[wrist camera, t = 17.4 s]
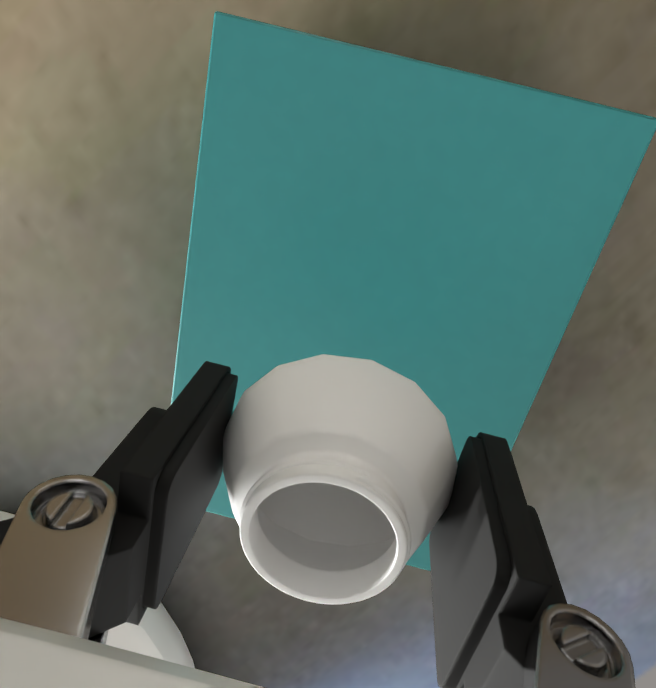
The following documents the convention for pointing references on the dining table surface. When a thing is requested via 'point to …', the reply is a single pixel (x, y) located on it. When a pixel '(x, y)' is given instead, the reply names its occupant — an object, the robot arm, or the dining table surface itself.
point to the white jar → (336, 475)
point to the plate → (148, 633)
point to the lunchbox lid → (393, 221)
